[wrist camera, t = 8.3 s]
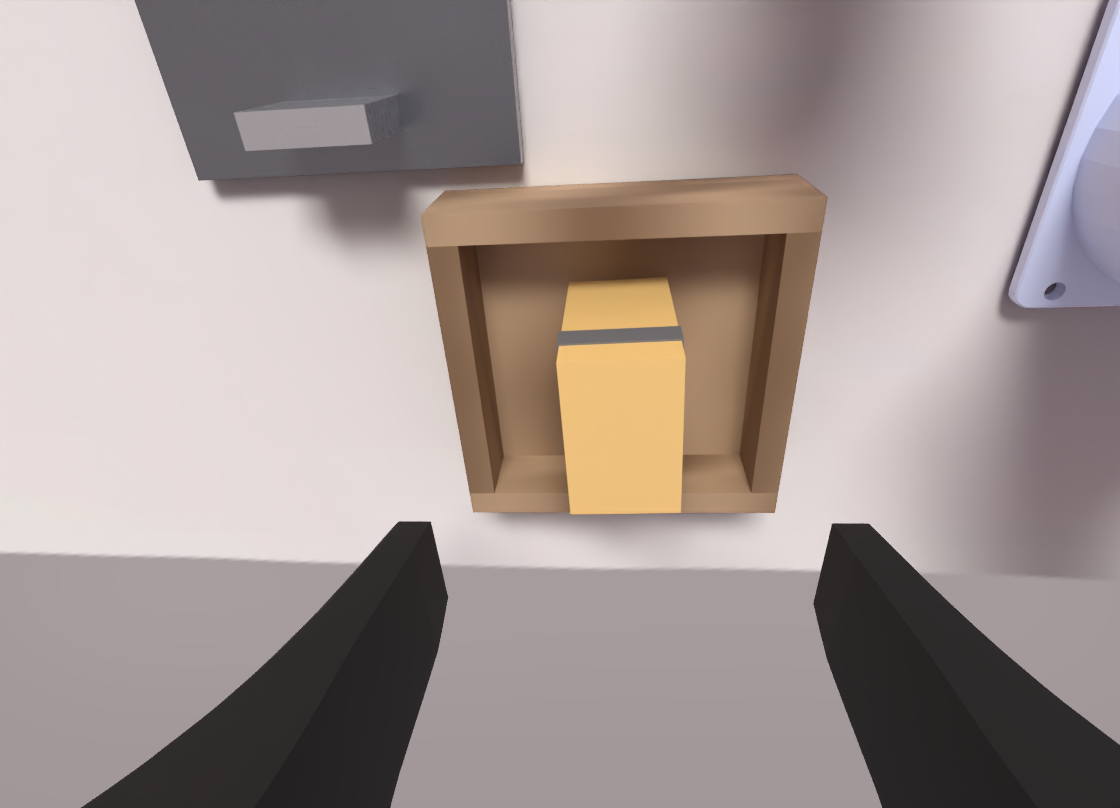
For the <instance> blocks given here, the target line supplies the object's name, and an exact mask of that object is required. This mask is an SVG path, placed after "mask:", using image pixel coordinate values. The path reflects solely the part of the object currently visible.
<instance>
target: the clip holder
mask: <svg viewBox="0 0 1120 808" xmlns="http://www.w3.org/2000/svg"><path fill="white" fill-rule="evenodd" d="M135 3H136V6H137V8H138V11H139V14H140V17H141V20H142V22H143V25H144V28H145V31H146V34H147V36H148V39H149V42H150V45H151V48H152V50H153V53H154V56H155V59H156V62H157V65H158V67H159V70H160V73H161V76H162V79H163V81H164V84H165V87H166V90H167V93H168V95H169V98H170V101H171V104H172V107H173V109H174V112H175V115H176V118H177V121H178V124H179V126H180V129H181V132H182V135H183V138H184V140H185V143H186V146H187V149H188V152H189V154H190V157H191V160H192V163H193V166H194V168H195V171H196V174H197V177H198V180H219V179H239V178H259V177H279V176H299V175H318V174H338V173H358V172H378V171H398V170H418V169H438V168H458V167H478V166H498V165H518V164H522V162H523V161H524V155H523V143H522V131H521V119H520V107H519V96H518V84H517V72H516V60H515V49H514V37H513V25H512V13H511V2H510V0H135Z"/></svg>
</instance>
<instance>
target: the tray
mask: <svg viewBox="0 0 1120 808" xmlns="http://www.w3.org/2000/svg"><path fill="white" fill-rule="evenodd" d="M826 203H827V196H825V195H824V194H823V193H821V192H820V191H819V190H817V189H816V188H815V187H814V186H812V185H811V184H810V183H808V182H807V181H806V180H804V179H803V178H802V177H801V176H799V175H798V174H792V175H771V176H750V177H728V178H707V179H685V180H664V181H643V182H621V183H600V184H578V185H557V186H535V187H514V188H493V189H471V190H450V191H444V192H443V193H442V194H441V195H440V196H439V197H438V198H437V199H436V200H435V201H434V202H433V203H432V204H431V205H430V206H429V207H428V208H427V209H426V210H425V211H424V212H423V213H422V214H421V220H422V226H423V231H424V237H425V243H426V248H427V254H428V259H429V265H430V271H431V276H432V282H433V288H434V293H435V299H436V305H437V310H438V316H439V322H440V327H441V333H442V338H443V344H444V350H445V355H446V361H447V367H448V372H449V378H450V384H451V389H452V395H453V401H454V406H455V412H456V417H457V423H458V429H459V434H460V440H461V446H462V451H463V457H464V463H465V468H466V474H467V480H468V485H469V491H470V497H471V502H472V508H473V512H570V503H569V493H568V482H567V472H566V461H565V451H564V440H563V429H562V419H561V408H560V398H559V387H558V377H557V366H556V361H557V355H558V354H557V339H558V333H559V331H561V330H562V324H563V317H564V311H565V305H566V298H567V292H568V286H569V282H584V281H603V280H622V279H641V278H660V277H667V280H668V284H669V288H670V293H671V297H672V301H673V305H674V310H675V314H676V318H677V323H678V326H681V328H682V333H683V337H684V353H685V357H686V365H685V397H684V430H683V462H682V494H681V513H775V508H776V502H777V496H778V490H779V484H780V478H781V472H782V466H783V460H784V454H785V448H786V442H787V436H788V430H789V424H790V418H791V412H792V406H793V400H794V394H795V388H796V382H797V377H798V371H799V365H800V359H801V353H802V347H803V341H804V335H805V329H806V323H807V317H808V311H809V305H810V299H811V293H812V287H813V281H814V275H815V269H816V263H817V257H818V251H819V245H820V239H821V233H822V227H823V221H824V215H825V209H826Z"/></svg>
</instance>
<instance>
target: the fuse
mask: <svg viewBox="0 0 1120 808" xmlns="http://www.w3.org/2000/svg"><path fill="white" fill-rule="evenodd" d="M557 354H558V355H557V361H556V366H557V377H558V387H559V398H560V408H561V419H562V429H563V440H564V451H565V461H566V472H567V482H568V493H569V503H570V514H639V513H681V494H682V462H683V430H684V397H685V365H686V357H685V353H684V337H683V333H682V328H681V326H678V323H677V318H676V314H675V310H674V305H673V301H672V297H671V293H670V288H669V284H668V280H667V277H660V278H641V279H622V280H603V281H584V282H569V286H568V292H567V298H566V305H565V311H564V317H563V324H562V330H561V331H559V333H558V339H557Z"/></svg>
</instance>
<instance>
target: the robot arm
mask: <svg viewBox="0 0 1120 808" xmlns="http://www.w3.org/2000/svg"><path fill="white" fill-rule="evenodd" d="M1053 283H1057V284H1056V287H1055V289H1054V290H1053V291H1052V292H1050V293H1049V294H1046V295H1044V292H1045V290H1046V289H1047V287H1049V286H1050V285H1052V284H1053ZM1009 297H1010V299H1011V300H1012V301H1013V302H1015V303H1016V304H1017V305H1019V306H1020V307H1023V308H1059V307H1097V306H1120V0H1109V2H1108V5H1107V8H1106V11H1105V13H1104V16H1103V19H1102V22H1101V25H1100V28H1099V31H1098V34H1097V37H1096V39H1095V42H1094V45H1093V48H1092V51H1091V54H1090V57H1089V60H1088V63H1087V65H1086V68H1085V71H1084V74H1083V77H1082V80H1081V83H1080V86H1079V88H1078V91H1077V94H1076V97H1075V100H1074V103H1073V106H1072V109H1071V112H1070V114H1069V117H1068V120H1067V123H1066V126H1065V129H1064V132H1063V135H1062V138H1061V140H1060V143H1059V146H1058V149H1057V152H1056V155H1055V158H1054V161H1053V164H1052V166H1051V169H1050V172H1049V175H1048V178H1047V181H1046V184H1045V187H1044V189H1043V192H1042V195H1041V198H1040V201H1039V204H1038V207H1037V210H1036V213H1035V215H1034V218H1033V221H1032V224H1031V227H1030V230H1029V233H1028V236H1027V239H1026V241H1025V244H1024V247H1023V250H1022V253H1021V256H1020V259H1019V262H1018V265H1017V267H1016V270H1015V273H1014V276H1013V279H1012V282H1011V285H1010V288H1009ZM447 600H448V595H447V591H446V587H445V582H444V578H443V574H442V569H441V565H440V560H439V556H438V551H437V547H436V543H435V538H434V534H433V530H432V525H431V522H398V523H397V524H396V525H395V526H394V527H393V528H392V529H391V530H390V532H389V533H388V534H387V535H386V536H385V537H384V538H383V539H382V541H381V542H380V543H379V544H378V545H377V546H376V547H375V549H374V550H373V551H372V552H371V553H370V554H369V555H368V557H367V558H366V559H365V560H364V561H363V562H362V563H361V565H360V566H359V567H358V568H357V569H356V570H355V571H354V573H353V574H352V575H351V576H350V577H349V578H348V579H347V580H346V581H345V583H344V584H343V585H342V586H341V587H340V588H339V589H338V590H337V591H336V592H335V593H334V594H333V595H332V597H331V598H330V599H329V600H328V601H327V602H326V603H325V604H324V605H323V606H322V608H320V610H319V611H318V612H317V613H316V614H315V615H314V616H313V617H312V618H311V619H310V620H309V621H308V622H307V623H306V624H305V625H304V626H303V627H302V628H301V629H300V630H299V631H298V632H297V633H296V634H295V635H294V636H293V637H292V638H291V639H290V640H289V641H288V642H287V643H286V644H285V645H284V646H283V647H282V648H281V649H280V650H279V651H278V652H277V653H276V654H275V655H274V656H273V657H272V658H271V659H269V660H268V661H267V662H266V663H265V664H264V665H263V666H262V667H261V668H260V669H259V670H258V671H257V672H255V674H253V675H252V676H251V677H250V678H249V679H248V680H247V681H246V682H244V683H243V684H242V685H241V686H240V687H239V688H238V689H236V690H235V691H234V692H233V693H232V694H231V695H230V696H228V697H227V698H226V699H225V700H224V701H223V702H222V703H220V704H219V705H218V706H217V707H215V708H214V709H213V710H212V711H211V712H210V713H208V714H207V715H206V716H204V717H203V718H202V719H201V720H199V721H198V722H197V723H196V724H194V725H193V726H192V727H190V728H189V729H188V730H187V731H186V732H184V733H183V734H181V735H180V736H179V737H178V738H176V739H175V740H174V741H172V742H171V743H170V744H169V745H167V746H166V747H165V748H164V749H162V750H161V751H160V752H158V753H157V754H156V755H154V756H153V757H152V758H151V759H149V760H148V761H147V762H145V763H144V764H143V765H141V766H140V767H139V768H137V769H136V770H134V771H133V772H131V773H130V774H129V775H127V776H126V777H124V778H123V779H122V780H120V781H119V782H118V783H116V784H115V785H113V786H112V787H110V788H109V789H108V790H106V791H105V792H103V793H102V794H100V795H99V796H98V797H96V798H95V799H93V800H92V801H90V802H89V803H87V804H86V805H84V806H83V807H81V808H390V806H391V802H392V798H393V795H394V791H395V787H396V784H397V780H398V776H399V773H400V769H401V766H402V763H403V760H404V757H405V754H406V750H407V747H408V744H409V741H410V738H411V735H412V732H413V729H414V725H415V722H416V719H417V716H418V713H419V709H420V706H421V703H422V700H423V697H424V694H425V691H426V687H427V684H428V681H429V678H430V675H431V671H432V668H433V665H434V661H435V658H436V655H437V652H438V648H439V643H440V638H441V632H442V628H443V622H444V617H445V611H446V605H447ZM814 608H815V612H816V616H817V621H818V625H819V629H820V633H821V637H822V641H823V645H824V649H825V653H826V657H827V660H828V663H829V666H830V669H831V671H832V674H833V677H834V680H835V682H836V684H837V687H838V690H839V693H840V696H841V698H842V701H843V703H844V706H845V709H846V712H847V714H848V717H849V719H850V722H851V725H852V727H853V730H854V733H855V735H856V738H857V741H858V743H859V746H860V748H861V751H862V754H863V756H864V759H865V761H866V764H867V767H868V769H869V772H870V775H871V777H872V780H873V783H874V785H875V788H876V791H877V793H878V796H879V799H880V802H881V805H882V808H1120V745H1119V744H1117V743H1116V742H1115V741H1114V740H1112V739H1111V738H1110V737H1108V736H1107V735H1106V734H1104V733H1103V732H1102V731H1101V730H1099V729H1098V728H1097V727H1095V726H1094V725H1093V724H1091V723H1090V722H1089V721H1087V720H1086V719H1085V718H1084V717H1082V716H1081V715H1080V714H1078V713H1077V712H1076V711H1074V710H1073V709H1072V708H1070V707H1069V706H1068V705H1066V704H1065V703H1064V702H1063V701H1062V700H1060V699H1059V698H1058V697H1057V696H1055V695H1054V694H1053V693H1052V692H1050V691H1049V690H1048V689H1047V688H1045V687H1044V686H1043V685H1042V684H1040V683H1039V682H1038V681H1037V680H1036V679H1034V678H1033V677H1032V676H1031V675H1030V674H1029V673H1027V672H1026V671H1025V670H1024V669H1023V668H1022V667H1020V666H1019V665H1018V664H1017V663H1016V662H1015V661H1013V660H1012V659H1011V658H1010V657H1008V655H1006V654H1005V653H1004V652H1003V651H1002V650H1001V649H999V648H998V647H997V646H996V645H995V644H994V643H993V642H992V641H990V640H989V639H988V638H987V637H986V636H985V635H984V634H982V633H981V632H980V631H979V630H978V629H977V628H976V627H975V626H974V625H973V624H972V623H971V622H969V621H968V620H967V619H966V618H965V617H964V616H963V615H962V614H961V613H960V612H959V611H958V610H957V609H956V608H954V607H953V606H952V605H951V604H950V603H949V602H948V601H947V600H946V599H945V598H944V597H943V596H942V595H941V594H940V593H939V592H938V591H936V590H935V589H934V588H933V587H932V586H931V585H930V584H929V583H928V582H927V581H926V580H925V579H924V578H923V577H922V576H921V575H920V574H919V573H918V572H917V571H916V570H915V569H914V568H913V567H912V566H911V565H910V564H909V563H908V562H907V561H906V560H905V559H904V558H903V557H902V556H901V555H900V554H899V553H898V552H897V551H896V550H895V549H894V548H893V547H892V546H891V545H890V544H889V543H888V542H887V541H886V540H885V539H884V538H883V537H882V536H881V535H880V534H879V533H878V532H877V531H876V530H875V529H874V528H873V527H872V526H871V525H870V524H832V527H831V531H830V535H829V540H828V544H827V548H826V552H825V557H824V561H823V565H822V569H821V573H820V578H819V582H818V587H817V590H816V595H815V599H814Z"/></svg>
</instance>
